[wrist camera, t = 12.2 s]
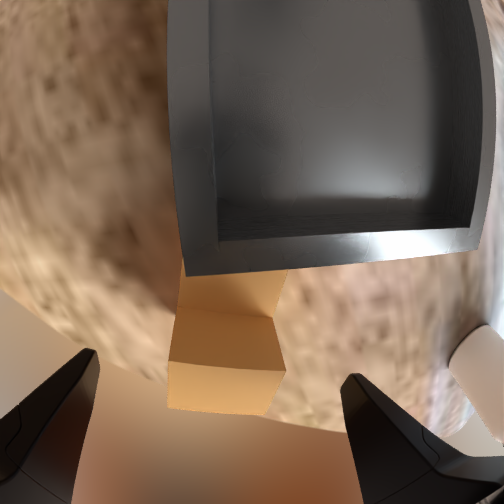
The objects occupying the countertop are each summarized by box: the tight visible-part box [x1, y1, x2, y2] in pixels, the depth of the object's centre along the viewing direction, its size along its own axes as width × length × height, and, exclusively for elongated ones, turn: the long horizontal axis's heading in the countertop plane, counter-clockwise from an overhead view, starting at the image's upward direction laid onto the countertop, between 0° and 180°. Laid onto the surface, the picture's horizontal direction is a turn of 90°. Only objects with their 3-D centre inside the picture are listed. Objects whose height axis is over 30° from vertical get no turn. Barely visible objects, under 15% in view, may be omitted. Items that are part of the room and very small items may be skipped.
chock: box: [167, 258, 288, 415], centre depth 11 cm, size 6×4×6 cm, turn 167°
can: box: [449, 325, 504, 447], centre depth 16 cm, size 6×6×12 cm
